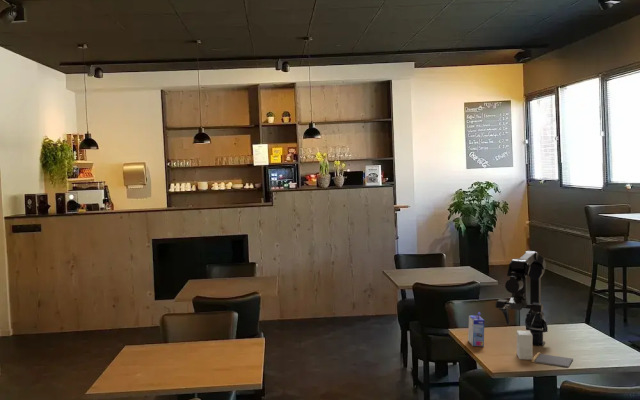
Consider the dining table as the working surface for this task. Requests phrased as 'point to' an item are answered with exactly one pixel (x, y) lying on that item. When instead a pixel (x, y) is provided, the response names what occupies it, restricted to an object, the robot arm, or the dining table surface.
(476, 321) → the ink cartridge box
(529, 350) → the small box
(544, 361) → the mat
